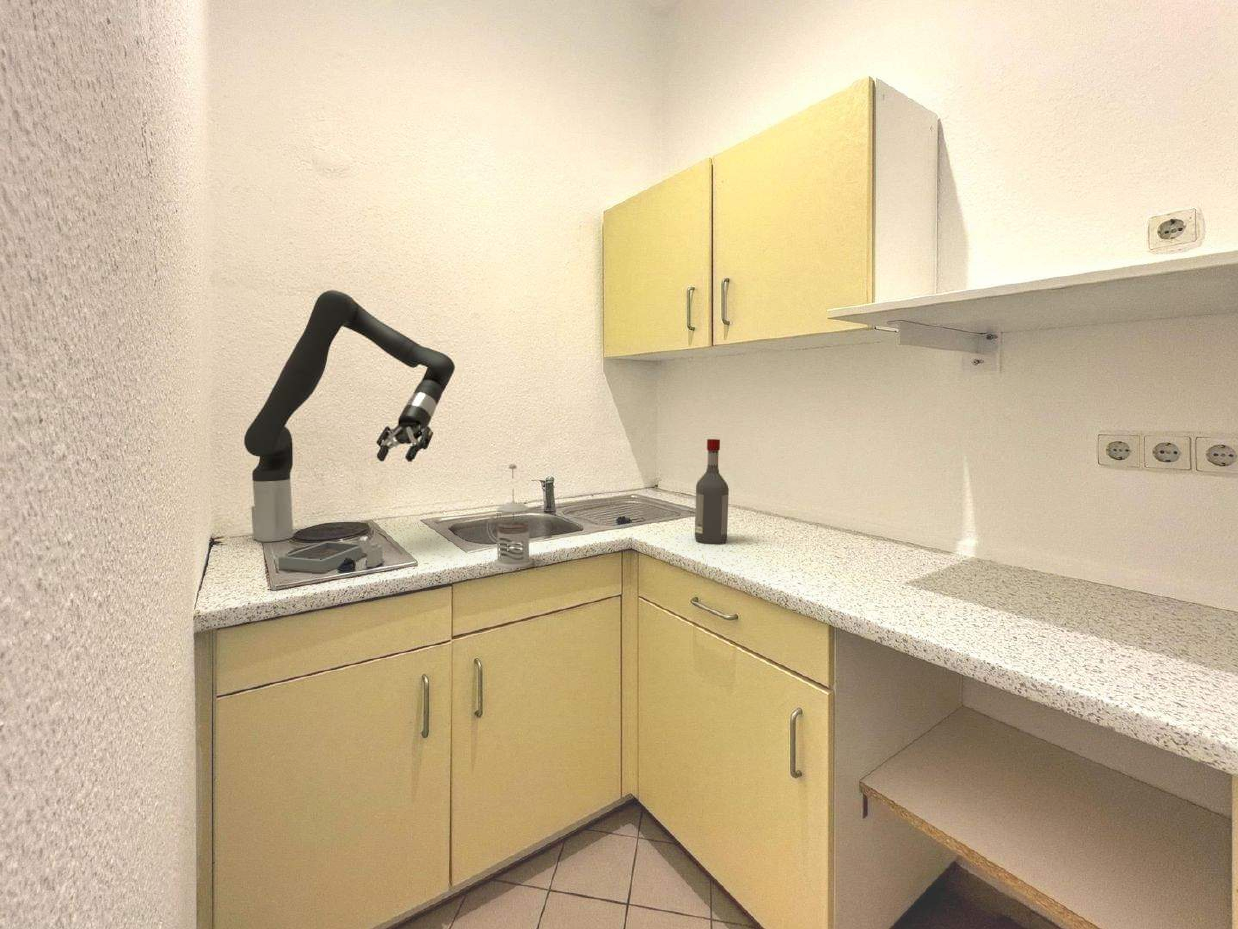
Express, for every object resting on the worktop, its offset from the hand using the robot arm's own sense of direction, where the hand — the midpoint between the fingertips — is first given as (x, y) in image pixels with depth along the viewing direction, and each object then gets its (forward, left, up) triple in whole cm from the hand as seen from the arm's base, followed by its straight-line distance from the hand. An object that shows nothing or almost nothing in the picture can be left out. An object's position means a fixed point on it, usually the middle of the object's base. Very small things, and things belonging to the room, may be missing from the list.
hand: (393, 459), depth 145 cm
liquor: (+79, +37, -25) cm, 91 cm away
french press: (+31, +1, -25) cm, 40 cm away
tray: (-13, -11, -25) cm, 30 cm away
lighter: (0, -11, -25) cm, 27 cm away
